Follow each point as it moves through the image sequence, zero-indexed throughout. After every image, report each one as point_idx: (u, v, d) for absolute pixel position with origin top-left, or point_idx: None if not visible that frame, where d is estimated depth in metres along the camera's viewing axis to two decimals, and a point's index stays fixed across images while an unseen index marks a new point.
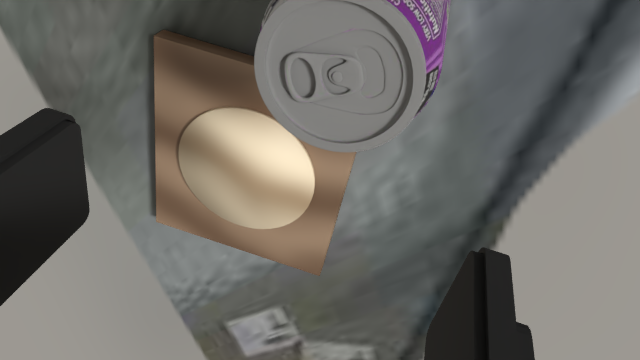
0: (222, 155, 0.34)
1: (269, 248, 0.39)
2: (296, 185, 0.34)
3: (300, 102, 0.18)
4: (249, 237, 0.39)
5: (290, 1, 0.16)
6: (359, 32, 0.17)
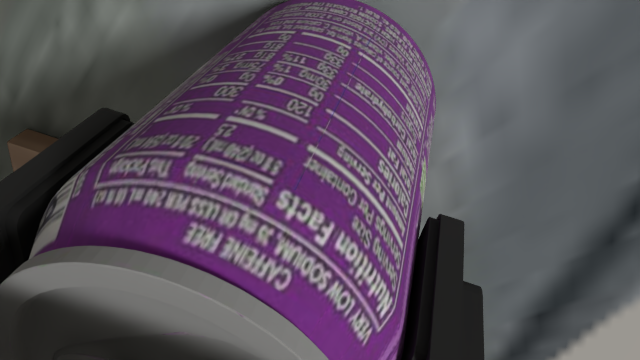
0: None
1: None
2: None
3: None
4: None
5: (24, 277, 0.07)
6: (200, 337, 0.07)
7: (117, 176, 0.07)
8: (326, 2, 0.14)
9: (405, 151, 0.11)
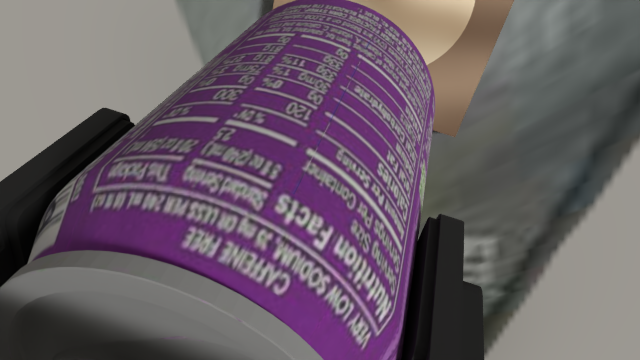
0: None
1: None
2: (452, 3, 0.29)
3: None
4: None
5: (22, 281, 0.07)
6: (200, 341, 0.07)
7: (115, 180, 0.07)
8: (325, 4, 0.14)
9: (404, 154, 0.11)
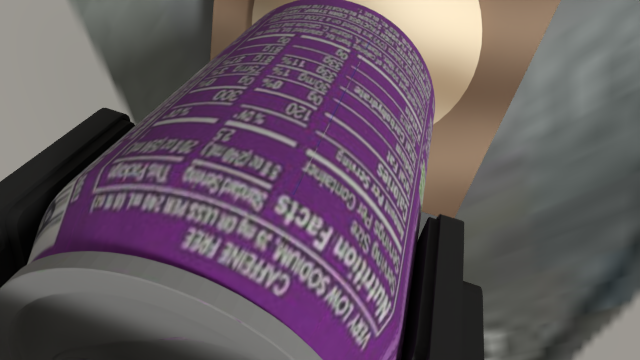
0: None
1: None
2: (448, 58, 0.21)
3: None
4: None
5: (22, 282, 0.07)
6: (199, 342, 0.07)
7: (115, 182, 0.07)
8: (325, 5, 0.14)
9: (404, 154, 0.11)
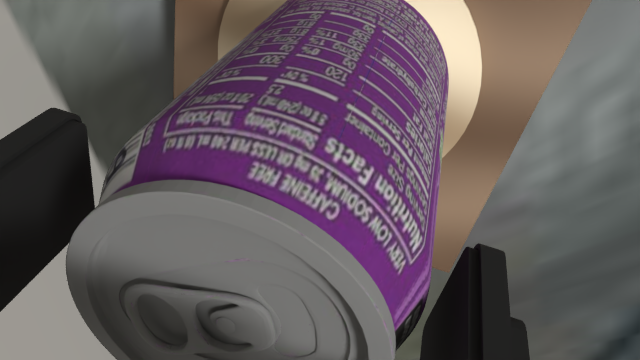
0: None
1: None
2: None
3: None
4: None
5: (109, 208, 0.08)
6: (259, 263, 0.08)
7: (184, 125, 0.08)
8: None
9: (427, 118, 0.12)
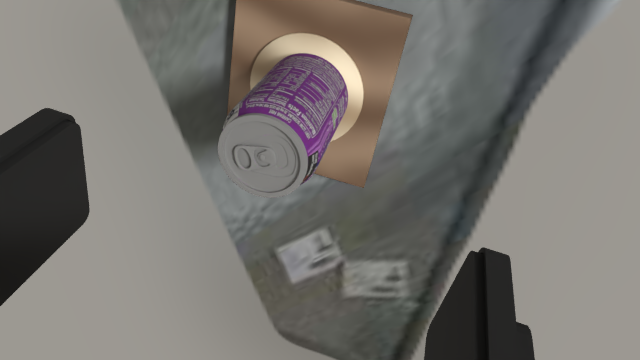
0: None
1: (321, 164, 0.46)
2: (348, 99, 0.42)
3: (244, 170, 0.33)
4: None
5: (234, 121, 0.31)
6: (271, 135, 0.32)
7: (251, 101, 0.32)
8: (304, 56, 0.39)
9: (325, 102, 0.35)
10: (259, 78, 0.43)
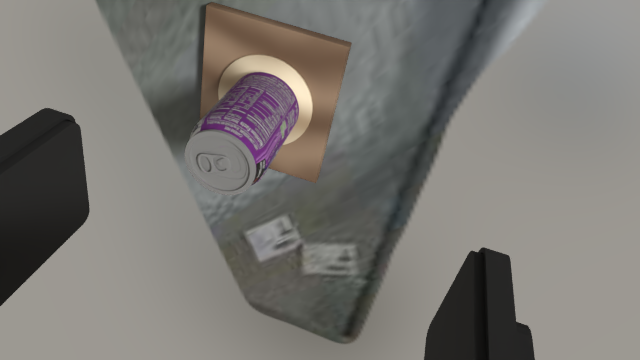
0: None
1: (280, 162, 0.54)
2: (299, 110, 0.50)
3: (206, 173, 0.42)
4: None
5: (197, 135, 0.39)
6: (226, 147, 0.40)
7: (211, 119, 0.40)
8: (260, 75, 0.47)
9: (274, 117, 0.43)
10: (225, 90, 0.50)
